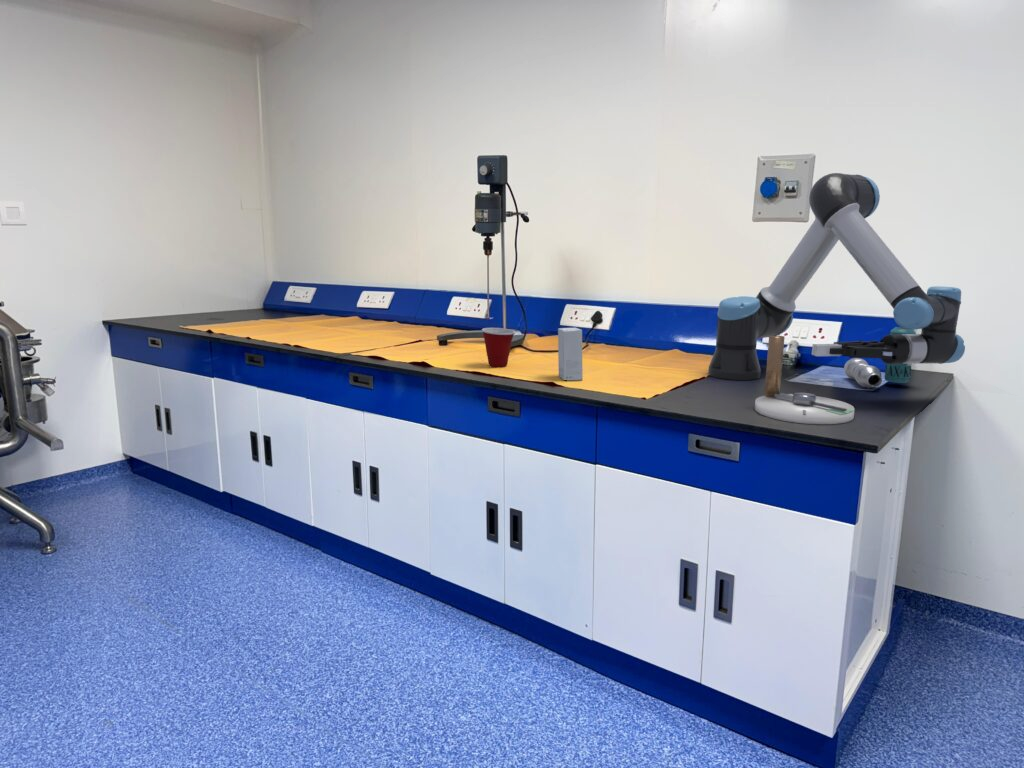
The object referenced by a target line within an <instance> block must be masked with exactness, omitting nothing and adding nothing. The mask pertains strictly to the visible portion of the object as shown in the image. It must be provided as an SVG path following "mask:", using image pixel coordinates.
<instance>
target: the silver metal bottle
mask: <svg viewBox="0 0 1024 768" xmlns="http://www.w3.org/2000/svg"><path fill="white" fill-rule="evenodd" d="M843 370H844V374H845V375H846V377H848V378H849V379H851V380H854V379H855V380H854V381H856V382H857V384H858V385H859V386H860V387H862V388H865V387H867V388H866V389H869V388H870V389H871V388H876V387H879V386H880V385H882V382H883V378H882V371H881V370H880V369H879V368H878V367H877V366H874V365H869V363H868V362H867V361H866V360H865V359H864V358H850V359H849V360H847V361H846V362H845V364H844V367H843Z"/></svg>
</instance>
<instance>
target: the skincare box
mask: <svg viewBox="0 0 1024 768" xmlns="http://www.w3.org/2000/svg"><path fill="white" fill-rule="evenodd" d="M557 341H558V342H557V346H558V347H557V352H558V353H557V355H558V356H557V357H558V359H557V360H558V377H559V376H560V377H559V378H560V379H562V381H564V380H567V381H577V380H578V381H583V378H584V376H583V374H584V373H583V329H581V328H578V327H560V328H557Z"/></svg>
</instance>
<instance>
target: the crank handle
mask: <svg viewBox="0 0 1024 768" xmlns="http://www.w3.org/2000/svg"><path fill="white" fill-rule="evenodd" d="M784 348H785V336H783V335H777V336H776V335H772V336H769V337H768V345H767V356H766V357H767V358H766V370H765V380H764V381H765V382H764V394H763V396H766V397H773V398H776V397H778V398H782V399H787V400H791V401H793V403H795V404H798V405H816V406H821V407H825V408H830V409H834V410H839V411H843V412H844V411H846V409H845V408H840V407H836V406H831V405H827V404H822V403H817V402H815V401H816V396H817V395H816V394H814V393H809V392H794V393H792V394H793V395H789V394H790V393H783V392H781V383H782V373H783V372H782V370H783V362H784V361H783V360H784Z"/></svg>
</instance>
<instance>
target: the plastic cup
mask: <svg viewBox="0 0 1024 768" xmlns="http://www.w3.org/2000/svg"><path fill="white" fill-rule="evenodd" d="M481 332H482V334H483V339H484V343H485V351H486V356H487V362H488V366H489V367H490V366H491V367H490V368H497V367H499V368H506V367H507V366H508V362H509V356H510V352H511V348H512V347H511V346H512V343H513V342H512V341H513V338H514V335H515V334H516V331H515V330H512V329H509V328H503V327H484V328H482V329H481ZM505 366H506V367H505Z"/></svg>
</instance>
